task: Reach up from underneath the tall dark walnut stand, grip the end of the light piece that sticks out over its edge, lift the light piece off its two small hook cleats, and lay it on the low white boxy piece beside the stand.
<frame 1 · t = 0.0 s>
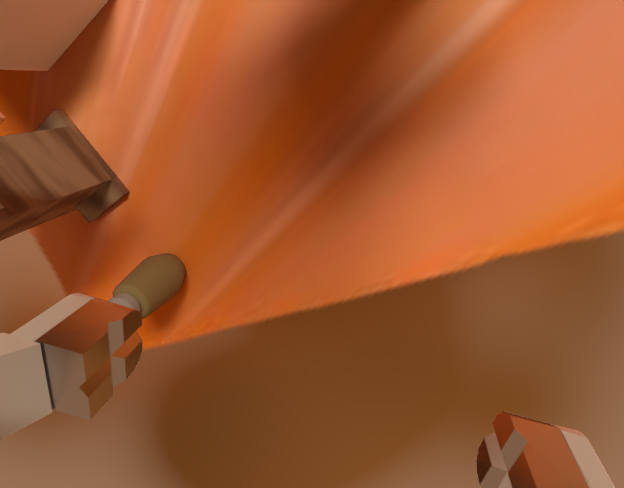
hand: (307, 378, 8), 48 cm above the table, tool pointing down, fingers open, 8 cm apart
squeeze bottle: (171, 266, 68), on the table
walnut stand: (89, 158, 61), on the table
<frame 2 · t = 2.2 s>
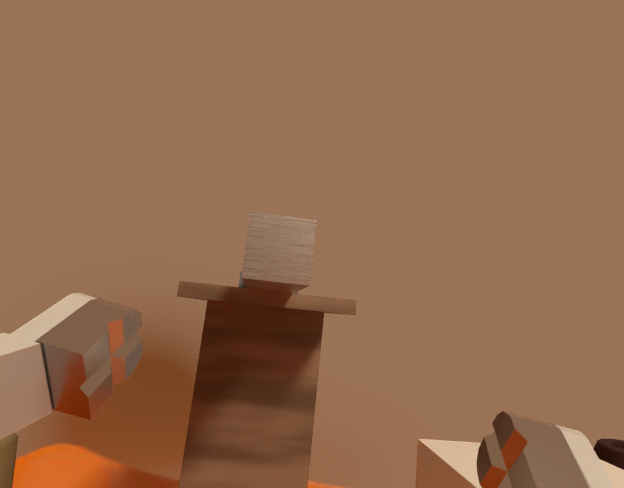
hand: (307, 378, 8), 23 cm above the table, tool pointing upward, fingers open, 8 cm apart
light piece: (269, 293, 29), point 26 cm above the table, touching walnut stand
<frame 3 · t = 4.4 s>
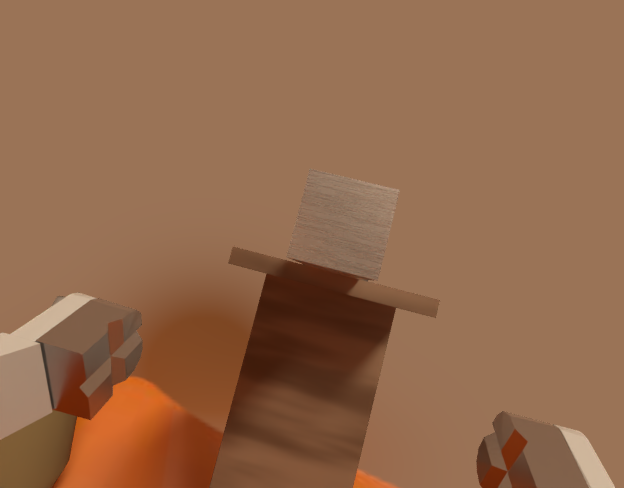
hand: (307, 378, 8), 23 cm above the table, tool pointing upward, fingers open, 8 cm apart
light piece: (334, 273, 25), point 26 cm above the table, touching walnut stand
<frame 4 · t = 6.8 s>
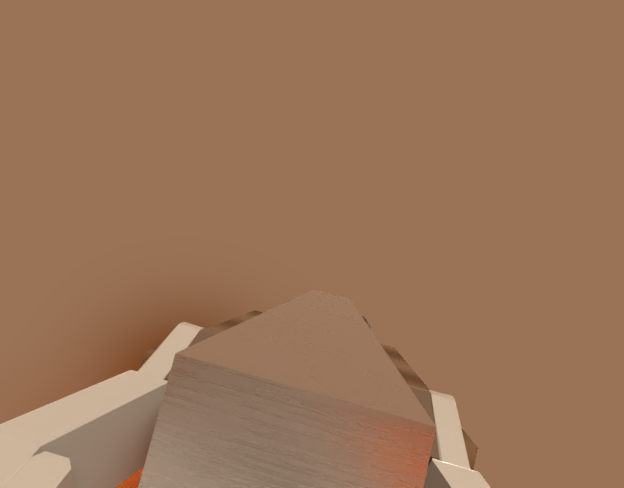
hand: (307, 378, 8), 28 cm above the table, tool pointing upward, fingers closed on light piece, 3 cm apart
light piece: (312, 369, 17), point 26 cm above the table, touching gripper, walnut stand
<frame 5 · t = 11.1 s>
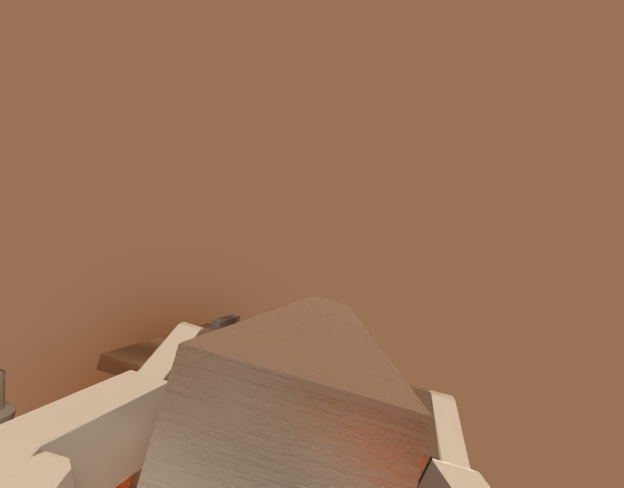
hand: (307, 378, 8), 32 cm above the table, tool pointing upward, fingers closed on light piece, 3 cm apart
light piece: (310, 374, 17), point 30 cm above the table, touching gripper
when the fingers open (19 cm above the table, at t = 15.4 s): light piece drops 1 cm, resting on white boxy piece.
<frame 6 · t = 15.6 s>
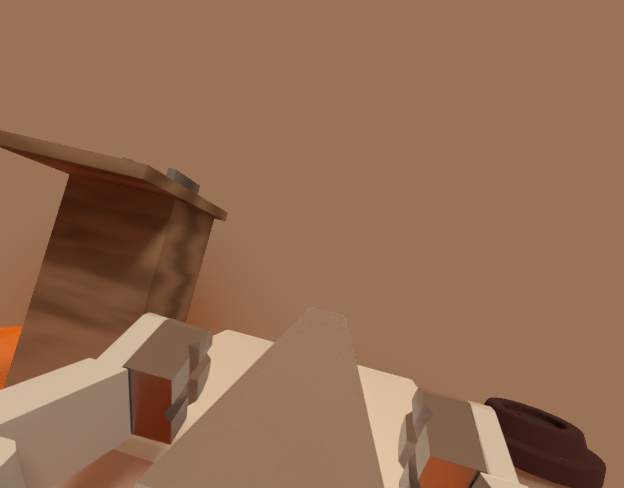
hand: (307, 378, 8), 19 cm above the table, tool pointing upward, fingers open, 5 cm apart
light piece: (304, 401, 17), point 16 cm above the table, touching white boxy piece
walnut stand: (54, 463, 32), on the table
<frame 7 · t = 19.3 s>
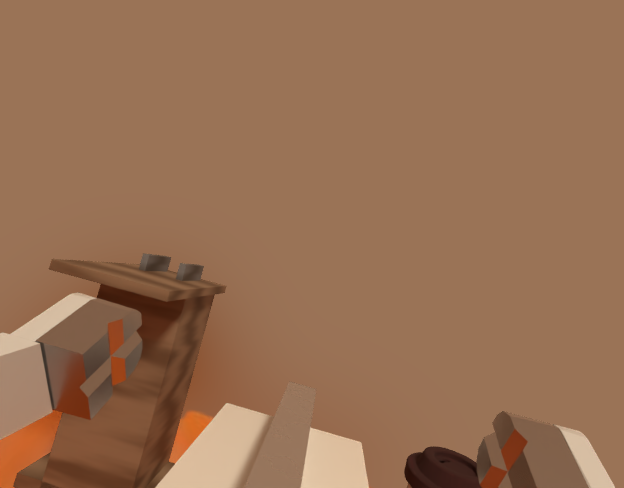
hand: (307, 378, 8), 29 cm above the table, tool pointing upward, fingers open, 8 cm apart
light piece: (276, 480, 26), point 16 cm above the table, touching white boxy piece
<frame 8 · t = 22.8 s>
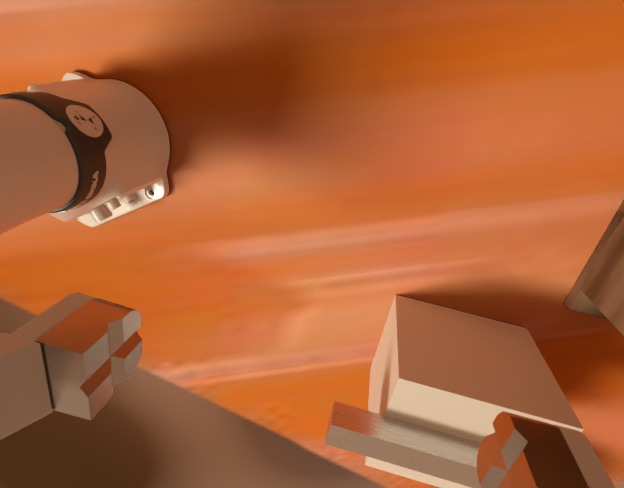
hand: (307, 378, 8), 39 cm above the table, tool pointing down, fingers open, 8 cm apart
light piece: (449, 444, 39), point 16 cm above the table, touching white boxy piece
white boxy piece: (443, 349, 53), on the table
walnut stand: (612, 252, 44), on the table
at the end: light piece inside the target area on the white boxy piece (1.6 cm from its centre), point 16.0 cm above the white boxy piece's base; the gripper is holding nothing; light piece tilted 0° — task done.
